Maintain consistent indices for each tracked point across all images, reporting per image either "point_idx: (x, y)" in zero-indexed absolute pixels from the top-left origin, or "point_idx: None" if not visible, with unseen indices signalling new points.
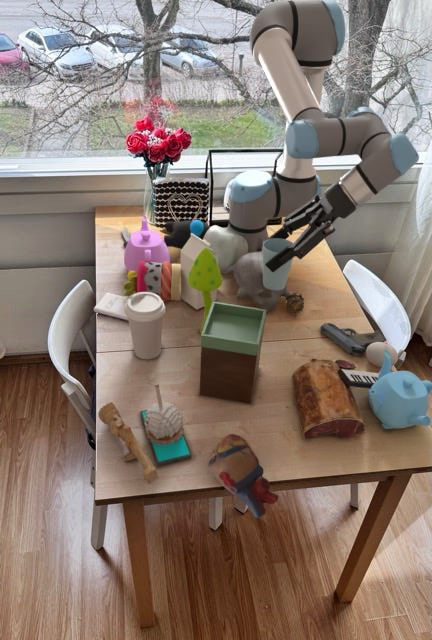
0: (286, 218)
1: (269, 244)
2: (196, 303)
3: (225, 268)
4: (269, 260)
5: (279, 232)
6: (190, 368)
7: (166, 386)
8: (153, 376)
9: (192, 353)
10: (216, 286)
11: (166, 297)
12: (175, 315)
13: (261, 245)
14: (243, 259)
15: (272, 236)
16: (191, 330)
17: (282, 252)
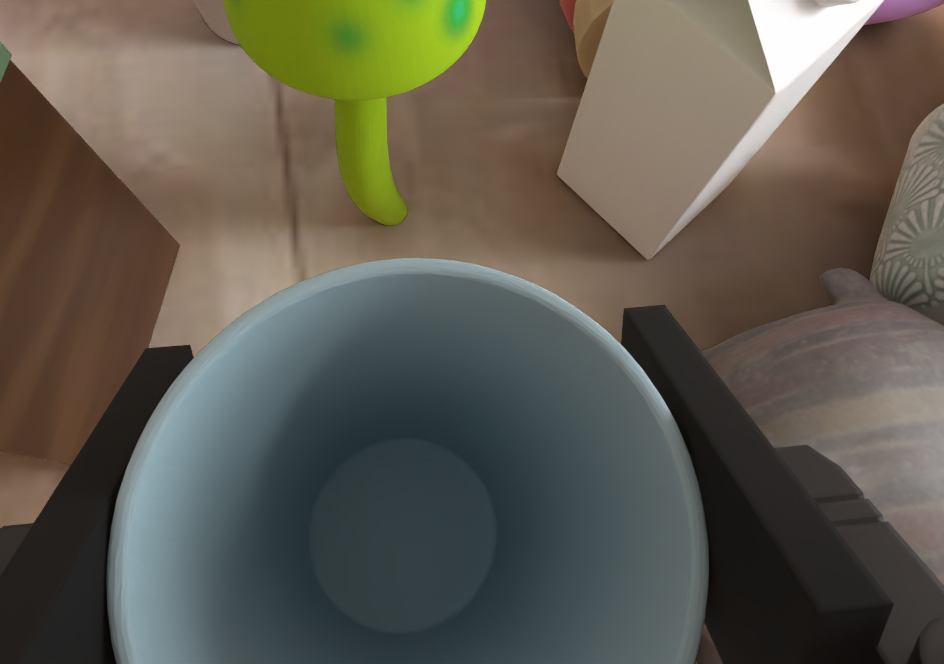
0: None
1: (597, 400)
2: (564, 152)
3: (874, 271)
4: (165, 385)
5: (763, 543)
6: (137, 165)
7: (30, 81)
8: (95, 32)
9: (238, 169)
10: (249, 45)
11: (564, 8)
12: (506, 89)
13: (631, 310)
14: (893, 333)
15: (711, 424)
16: (401, 159)
17: (3, 575)
